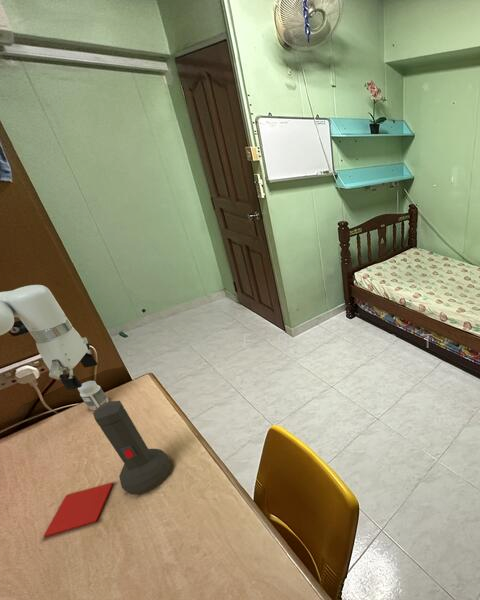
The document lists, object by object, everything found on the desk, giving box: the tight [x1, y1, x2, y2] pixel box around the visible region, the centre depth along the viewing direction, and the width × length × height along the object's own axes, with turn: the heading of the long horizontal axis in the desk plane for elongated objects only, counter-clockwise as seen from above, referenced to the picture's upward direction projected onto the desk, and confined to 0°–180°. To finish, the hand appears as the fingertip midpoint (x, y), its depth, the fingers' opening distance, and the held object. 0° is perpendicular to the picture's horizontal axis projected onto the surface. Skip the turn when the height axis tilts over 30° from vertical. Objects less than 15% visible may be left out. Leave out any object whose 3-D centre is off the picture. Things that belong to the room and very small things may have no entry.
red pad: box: [43, 482, 114, 538], centre depth 71 cm, size 9×9×1 cm
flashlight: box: [92, 400, 172, 495], centre depth 72 cm, size 10×25×10 cm
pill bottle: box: [77, 380, 110, 411], centre depth 96 cm, size 5×5×8 cm
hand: (83, 376), depth 93 cm, fingers open, 9 cm apart
